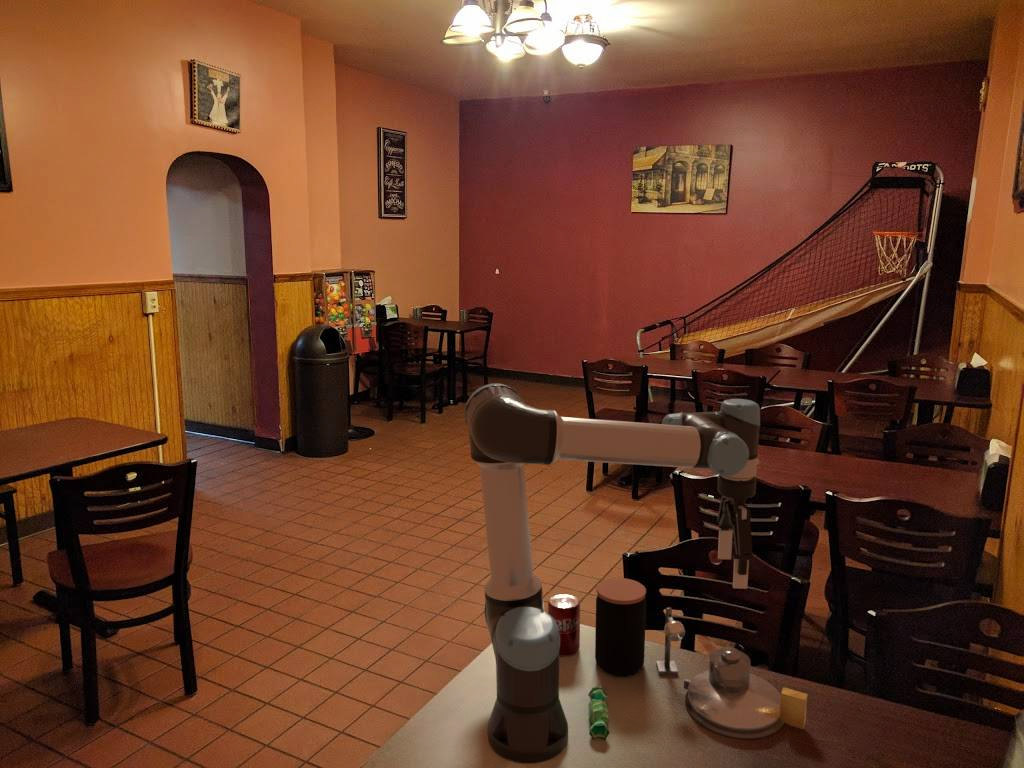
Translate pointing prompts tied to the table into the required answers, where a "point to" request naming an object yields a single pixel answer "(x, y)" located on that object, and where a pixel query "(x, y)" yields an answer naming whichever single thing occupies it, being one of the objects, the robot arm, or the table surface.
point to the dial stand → (672, 633)
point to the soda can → (566, 622)
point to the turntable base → (728, 733)
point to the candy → (598, 713)
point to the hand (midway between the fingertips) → (731, 572)
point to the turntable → (746, 705)
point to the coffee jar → (620, 626)
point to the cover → (729, 670)
